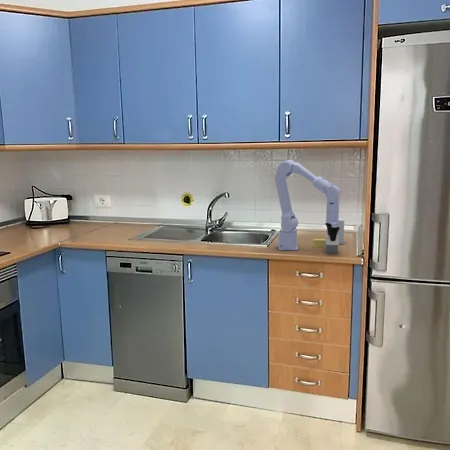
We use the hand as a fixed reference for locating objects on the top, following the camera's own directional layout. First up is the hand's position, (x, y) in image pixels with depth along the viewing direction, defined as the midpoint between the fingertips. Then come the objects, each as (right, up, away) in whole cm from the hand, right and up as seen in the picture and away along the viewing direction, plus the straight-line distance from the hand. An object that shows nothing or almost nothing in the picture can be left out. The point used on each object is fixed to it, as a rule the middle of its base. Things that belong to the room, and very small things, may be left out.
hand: (331, 239), depth 225 cm
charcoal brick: (0, -6, +1) cm, 6 cm away
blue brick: (+1, -5, +9) cm, 10 cm away
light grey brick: (0, -2, 0) cm, 3 cm away
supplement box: (+6, -3, +19) cm, 21 cm away
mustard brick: (-4, -4, +12) cm, 13 cm away
